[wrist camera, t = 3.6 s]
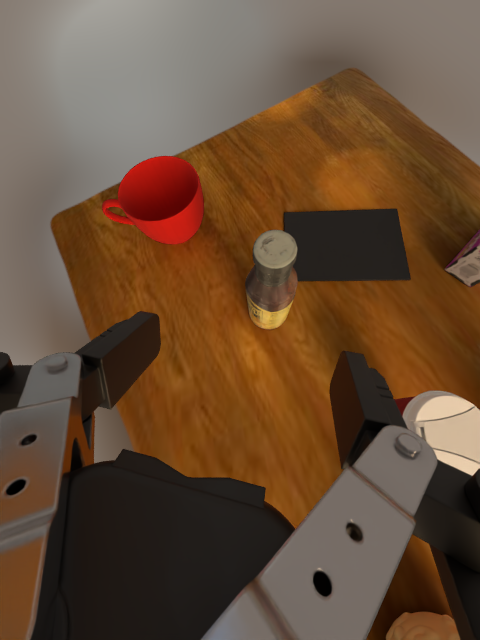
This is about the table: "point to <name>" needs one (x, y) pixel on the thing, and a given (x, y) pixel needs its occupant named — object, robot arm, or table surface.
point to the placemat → (348, 245)
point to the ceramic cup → (160, 199)
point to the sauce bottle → (272, 279)
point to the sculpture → (423, 627)
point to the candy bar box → (467, 263)
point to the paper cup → (445, 427)
